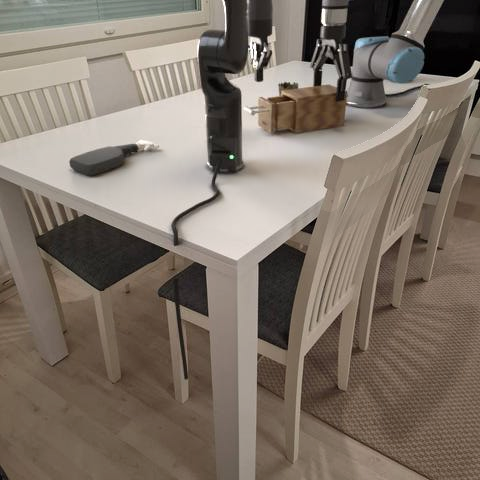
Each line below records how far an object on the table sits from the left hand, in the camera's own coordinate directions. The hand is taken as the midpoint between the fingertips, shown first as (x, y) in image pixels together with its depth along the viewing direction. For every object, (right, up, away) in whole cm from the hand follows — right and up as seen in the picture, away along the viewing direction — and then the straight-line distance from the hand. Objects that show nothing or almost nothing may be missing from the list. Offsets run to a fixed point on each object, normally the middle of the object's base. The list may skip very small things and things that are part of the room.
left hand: (258, 81), depth 134 cm
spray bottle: (-40, -25, -9) cm, 48 cm away
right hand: (+23, -1, +12) cm, 26 cm away
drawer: (+7, -11, +11) cm, 17 cm away
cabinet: (+18, -9, +15) cm, 25 cm away
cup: (+12, +3, +34) cm, 37 cm away
